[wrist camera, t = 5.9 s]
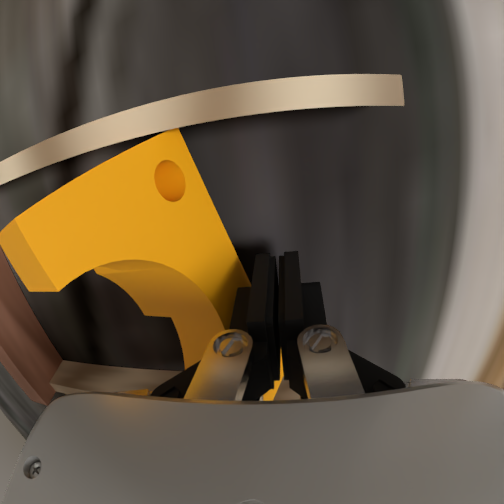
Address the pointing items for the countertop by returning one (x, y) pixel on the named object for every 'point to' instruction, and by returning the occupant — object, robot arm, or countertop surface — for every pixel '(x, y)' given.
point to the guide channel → (128, 127)
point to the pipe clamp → (138, 240)
